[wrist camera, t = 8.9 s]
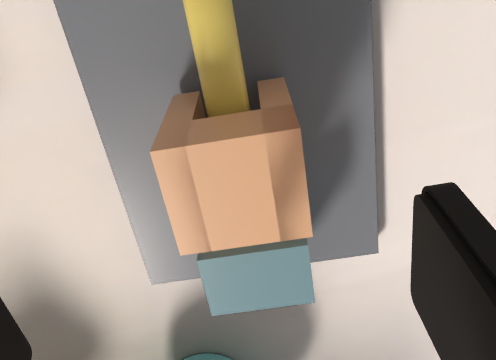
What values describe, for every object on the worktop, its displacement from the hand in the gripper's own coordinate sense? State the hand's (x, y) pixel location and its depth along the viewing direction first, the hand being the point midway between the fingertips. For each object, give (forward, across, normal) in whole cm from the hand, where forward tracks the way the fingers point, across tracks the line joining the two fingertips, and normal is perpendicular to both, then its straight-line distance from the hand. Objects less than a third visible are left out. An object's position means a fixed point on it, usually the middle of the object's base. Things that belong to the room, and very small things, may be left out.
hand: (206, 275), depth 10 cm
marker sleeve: (+10, -1, +1) cm, 10 cm away
